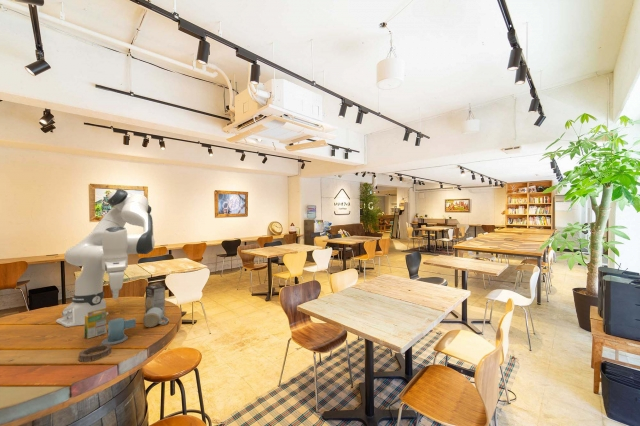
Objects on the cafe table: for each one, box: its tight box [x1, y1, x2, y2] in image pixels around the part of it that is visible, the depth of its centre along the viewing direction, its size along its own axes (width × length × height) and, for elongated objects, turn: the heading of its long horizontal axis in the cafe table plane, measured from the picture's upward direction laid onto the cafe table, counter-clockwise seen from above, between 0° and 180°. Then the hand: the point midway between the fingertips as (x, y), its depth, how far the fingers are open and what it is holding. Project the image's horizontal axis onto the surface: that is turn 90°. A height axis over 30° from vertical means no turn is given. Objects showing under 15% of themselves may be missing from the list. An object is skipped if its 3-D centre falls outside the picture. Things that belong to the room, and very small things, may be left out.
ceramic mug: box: [142, 307, 170, 328], centre depth 132 cm, size 11×8×8 cm
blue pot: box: [107, 317, 137, 342], centre depth 116 cm, size 10×6×8 cm, turn 131°
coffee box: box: [144, 283, 166, 317], centre depth 145 cm, size 9×6×16 cm
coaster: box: [100, 334, 129, 346], centre depth 114 cm, size 9×9×1 cm
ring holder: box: [78, 344, 112, 363], centre depth 102 cm, size 9×9×2 cm
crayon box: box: [84, 307, 108, 340], centre depth 120 cm, size 7×3×12 cm, turn 152°
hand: (114, 296), depth 115 cm, fingers open, 8 cm apart
